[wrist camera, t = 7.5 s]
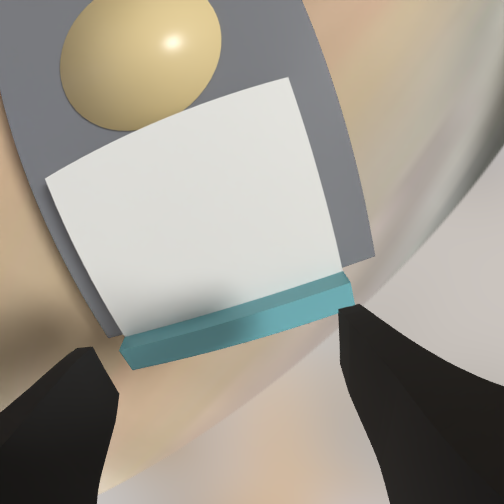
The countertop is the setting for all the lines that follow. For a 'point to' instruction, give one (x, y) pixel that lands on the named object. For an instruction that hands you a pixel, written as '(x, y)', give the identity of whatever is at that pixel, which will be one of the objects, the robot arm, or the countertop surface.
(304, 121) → the housing
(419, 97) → the countertop surface
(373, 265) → the countertop surface
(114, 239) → the lid
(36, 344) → the countertop surface
